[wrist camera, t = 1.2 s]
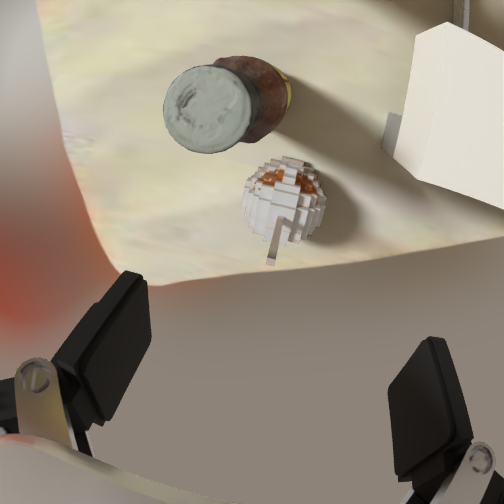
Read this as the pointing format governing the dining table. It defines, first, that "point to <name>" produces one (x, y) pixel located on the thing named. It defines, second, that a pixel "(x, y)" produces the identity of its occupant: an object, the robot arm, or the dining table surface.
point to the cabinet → (453, 115)
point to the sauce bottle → (226, 103)
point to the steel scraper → (461, 13)
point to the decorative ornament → (283, 203)
